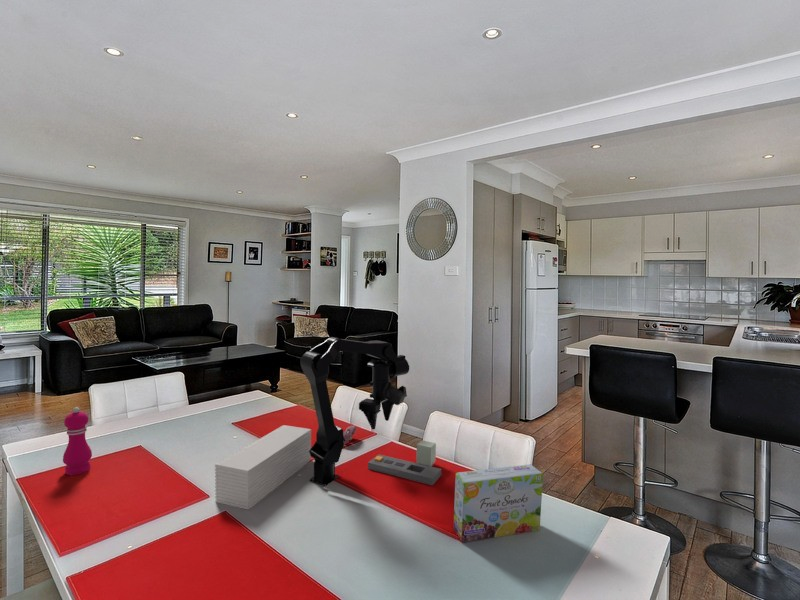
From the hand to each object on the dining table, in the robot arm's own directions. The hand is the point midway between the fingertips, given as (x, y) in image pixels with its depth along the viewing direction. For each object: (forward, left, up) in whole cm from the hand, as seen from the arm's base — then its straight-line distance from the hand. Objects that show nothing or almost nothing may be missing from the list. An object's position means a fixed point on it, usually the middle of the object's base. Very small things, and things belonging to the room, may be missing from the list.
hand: (380, 424), depth 143 cm
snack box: (-21, -45, -12) cm, 51 cm away
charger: (+2, -16, -12) cm, 20 cm away
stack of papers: (-28, +23, -12) cm, 38 cm away
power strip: (-6, -12, -12) cm, 18 cm away
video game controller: (+7, +18, -12) cm, 23 cm away
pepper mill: (-52, +78, -12) cm, 95 cm away
